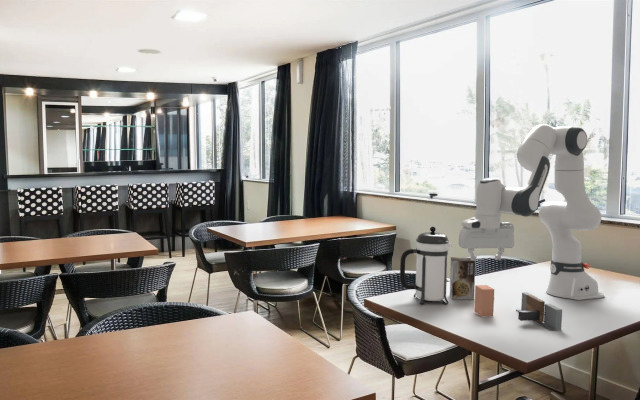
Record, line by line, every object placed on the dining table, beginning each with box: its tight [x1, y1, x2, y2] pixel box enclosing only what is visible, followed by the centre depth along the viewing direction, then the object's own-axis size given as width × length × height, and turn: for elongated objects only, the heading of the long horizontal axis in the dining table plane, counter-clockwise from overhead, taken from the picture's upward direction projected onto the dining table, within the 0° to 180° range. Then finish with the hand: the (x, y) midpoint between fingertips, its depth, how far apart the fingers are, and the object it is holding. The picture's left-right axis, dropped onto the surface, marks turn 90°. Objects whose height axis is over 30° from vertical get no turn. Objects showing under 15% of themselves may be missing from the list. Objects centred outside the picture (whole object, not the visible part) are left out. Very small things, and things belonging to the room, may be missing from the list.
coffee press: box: [399, 226, 452, 306], centre depth 207 cm, size 17×16×30 cm
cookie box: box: [449, 256, 476, 300], centre depth 214 cm, size 9×6×16 cm
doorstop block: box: [473, 284, 495, 317], centre depth 193 cm, size 4×6×10 cm
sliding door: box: [517, 294, 546, 323], centre depth 185 cm, size 9×9×7 cm
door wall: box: [515, 291, 563, 331], centre depth 186 cm, size 4×22×7 cm, turn 9°
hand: (485, 260), depth 191 cm, fingers open, 8 cm apart
